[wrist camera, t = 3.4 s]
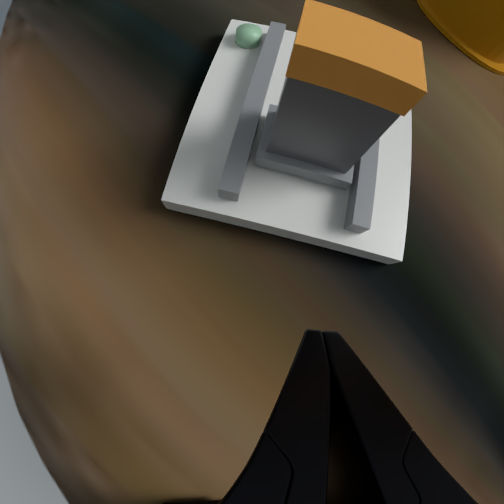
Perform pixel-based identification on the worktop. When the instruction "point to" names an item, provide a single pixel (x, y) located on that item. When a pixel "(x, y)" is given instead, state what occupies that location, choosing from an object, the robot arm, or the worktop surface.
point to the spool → (471, 28)
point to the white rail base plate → (276, 182)
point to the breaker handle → (339, 94)
